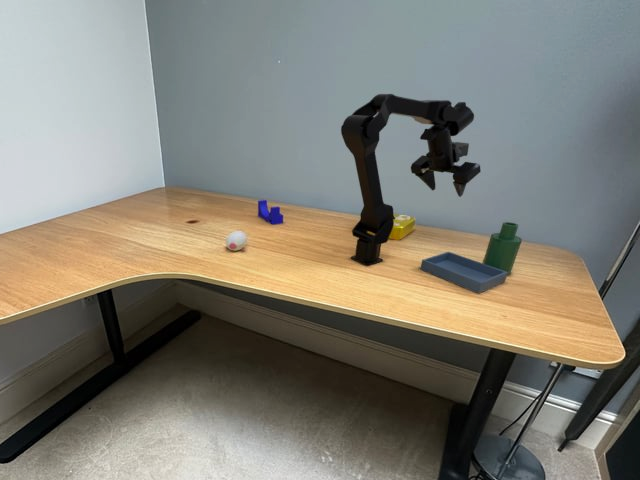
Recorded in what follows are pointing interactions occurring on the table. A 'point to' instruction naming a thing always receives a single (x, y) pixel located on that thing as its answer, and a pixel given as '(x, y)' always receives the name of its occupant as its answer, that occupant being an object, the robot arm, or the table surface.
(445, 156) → the robot arm
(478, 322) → the table surface
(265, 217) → the cable clip
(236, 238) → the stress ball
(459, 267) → the tray
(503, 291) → the table surface
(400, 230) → the element tile
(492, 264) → the bottle
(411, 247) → the table surface
